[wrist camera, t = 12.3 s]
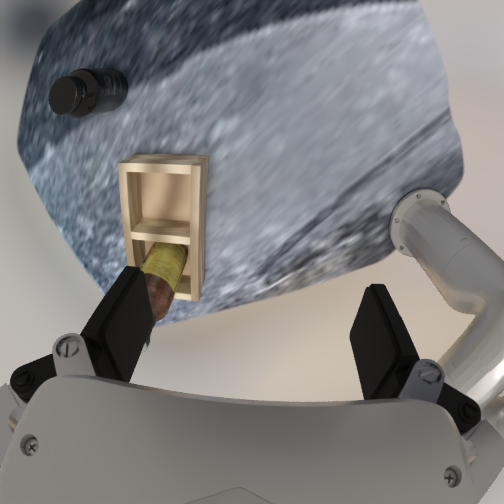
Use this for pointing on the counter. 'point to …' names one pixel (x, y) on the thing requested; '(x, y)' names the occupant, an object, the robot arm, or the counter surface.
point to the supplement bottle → (88, 92)
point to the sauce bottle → (163, 277)
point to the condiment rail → (166, 211)
